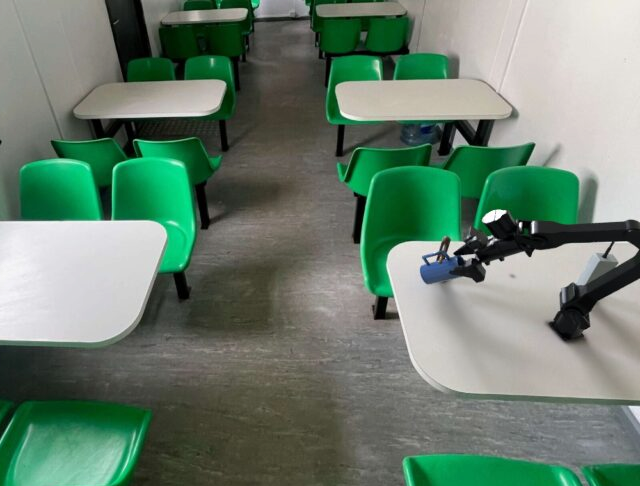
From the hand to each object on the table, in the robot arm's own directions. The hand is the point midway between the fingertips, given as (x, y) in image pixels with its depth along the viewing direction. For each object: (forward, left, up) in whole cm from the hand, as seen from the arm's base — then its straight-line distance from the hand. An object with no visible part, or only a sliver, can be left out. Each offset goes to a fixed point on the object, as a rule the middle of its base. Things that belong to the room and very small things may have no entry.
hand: (451, 263), depth 130 cm
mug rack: (+4, +1, -12) cm, 13 cm away
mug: (+5, +6, -6) cm, 10 cm away
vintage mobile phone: (-12, -41, -13) cm, 45 cm away
